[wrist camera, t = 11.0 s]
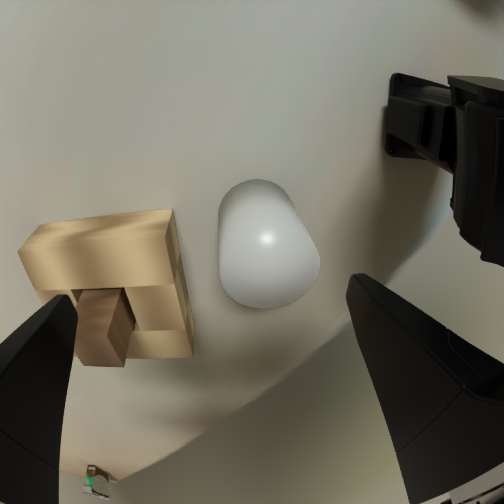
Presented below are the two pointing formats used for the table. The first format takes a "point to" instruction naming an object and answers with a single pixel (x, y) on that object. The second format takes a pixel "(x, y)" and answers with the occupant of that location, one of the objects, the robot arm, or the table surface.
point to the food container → (96, 482)
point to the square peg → (103, 327)
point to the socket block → (119, 273)
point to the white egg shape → (264, 247)
